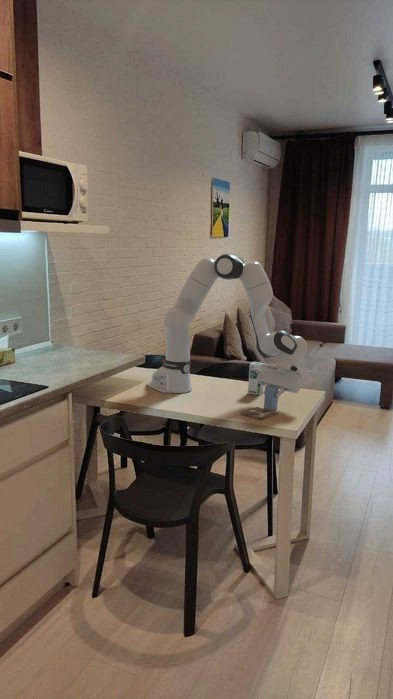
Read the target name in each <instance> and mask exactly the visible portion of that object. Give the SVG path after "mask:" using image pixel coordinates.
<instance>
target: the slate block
mask: <svg viewBox="0 0 393 699" xmlns="http://www.w3.org/2000/svg"><path fill="white" fill-rule="evenodd" d="M264 390H265V394H264V398H263V399H264V402H263V403H264V404H263V409H266V410H270V411H275V410H277V409H278V399H279V398H276V397H275V396H274V394H275V392H278V391H280V389H279V388H275V387H271V386H270V387H267V388H265V387H264Z"/></svg>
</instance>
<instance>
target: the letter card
mask: <svg viewBox="0 0 393 699" xmlns="http://www.w3.org/2000/svg"><path fill="white" fill-rule="evenodd" d="M241 414H242V416H244V417H248V418H252V419H254V420H256V421H257V420H258V421H262V420H265V419H268V418H271V417H273V416H275V415H278V412H276V411H274V410H272V411H271V410H268V409H264V407H263V408H262V407H259V406H256V407H253V408H250V409H247V410H244V411H241V412H240V413H239V415H241Z"/></svg>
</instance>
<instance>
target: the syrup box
mask: <svg viewBox="0 0 393 699" xmlns="http://www.w3.org/2000/svg"><path fill="white" fill-rule="evenodd" d="M264 367H266V363H264V362H260V361H252V362H250V363H249V367H248V368H249V372H248V387H247V395H250V394H251V395H255V396H260V395H261V394H264V393H263V392H264V387H265V385H261V384H259V383H258V382H257V380H256V377H257V376H258V374H259V373H260V372H261V370H262V369H263V368H264Z"/></svg>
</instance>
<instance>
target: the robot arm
mask: <svg viewBox="0 0 393 699" xmlns="http://www.w3.org/2000/svg"><path fill="white" fill-rule="evenodd" d="M218 278H220V279H223V280H229V281H230V280H236V279H237V280H239V281H240V282H241V283H242V285H243V288H244V291H245V294H246V297H247V299H248V311H249V317H250V321H251V323H252V324H251V325H252V327H253V331H254V334H255V341H256V342H255V343H256V344H255V345H256V350H257V352H258V353H259V355H260V356H261V357H263V358H265V359H270V358H273V357H275V356H277V355H278V356H279V358H278V361H277V362H276V364H275V366H271V365H265V367H264V368H263V369H262V370H261V372H260V373H259V374H258V376H257V377H256V380H257V382H258V383H259V384H261V385H264V389H263V393H262V394H264V395H265V388H267V387H270V386H271V387H275V388H279V390H278V392H275V394H274V396H275V397H276V398H278V399H279V398H280V396H282V395H283V394H285V392H289V393H293V394H297V393H299V391H300V390H301V388H302V385H303V381H304V379H305V376H304V373H303V371H302V370H301V369H300V368H299V364H301V362H302V361H303V360H304V358H305V355H306V353H307V351H308V342H307V341H306V340H305V339H304V338H303V337H302V336H299V335H292V334H290V333H289V332H287V331H285V330H278V331H275V332H272V333H270V330H269V327H268V324H267V321H266V311H267V308H268V306H269V305H270V304H271V302H272V300H273V298H274V291H273V287H272V285H271V282H270V280H269V277H268V275H267V273H266V271H265V269H264V268H263V266H262V265H261V263H260V262H258V261H248V262H245V261H244V260H243V258H242V257H241V256H239V255H236V254H234V253H225V254H221V255H220V256H218V257H217V258H216V260H214V259H213V258H210V257H203V258H201V259H200V260H199V261H198V263H197V264H195V267H193V269H192V271H191V272H190V274H189V276H188V278H187V279H186V281H185V283H184V285H183V287H182V288H181V290H180V293H179V294H178V297H177V299H176V301H175V302H174V305H173V307H172V308H171V309H169V310H167V311H166V313H165V315H164V320H163V323H164V332H165V333H164V334H165V342H166V343H165V358H164V359H162V360H161V363H162V366H161V367H159V368H158V369H156V370H155V371H154V372H153V373H152V375H151V380H150V381H148V382H146V385H145V386H147V387H150V388H151V389H154V390H156V391H158V392H160V393H164V394H165V393H166V394H168V393H169V394H171V393H173V394H183V393H185V394H186V393H188V392H191V391H192V390H193V389H192V388H193V387H192V384H191V372H190V371H191V370H190V369H191V358H190V356H191V341H190V340H191V339H190V326H191V324H192V323H193V321H194V320H195V317H196V316H197V314H198V312H199V310H200V308H201V307H202V304H203V303H204V301H205V299H206V297H207V296H208V293H209V292H210V290H211V289H212V287H213V285H214V283H215V282H216V280H218Z"/></svg>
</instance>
